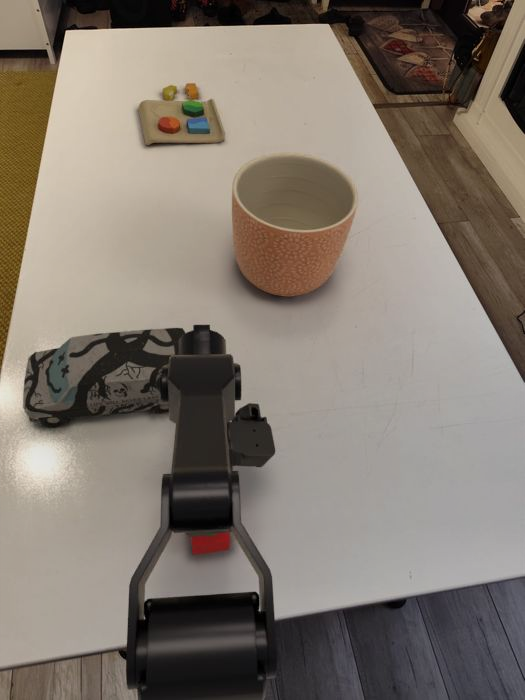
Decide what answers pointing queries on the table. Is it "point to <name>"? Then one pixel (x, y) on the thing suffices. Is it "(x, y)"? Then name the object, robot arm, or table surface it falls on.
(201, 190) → the table surface
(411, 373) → the table surface
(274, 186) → the planter
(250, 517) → the table surface
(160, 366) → the toy car
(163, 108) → the shape puzzle
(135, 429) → the table surface
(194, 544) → the red cube
